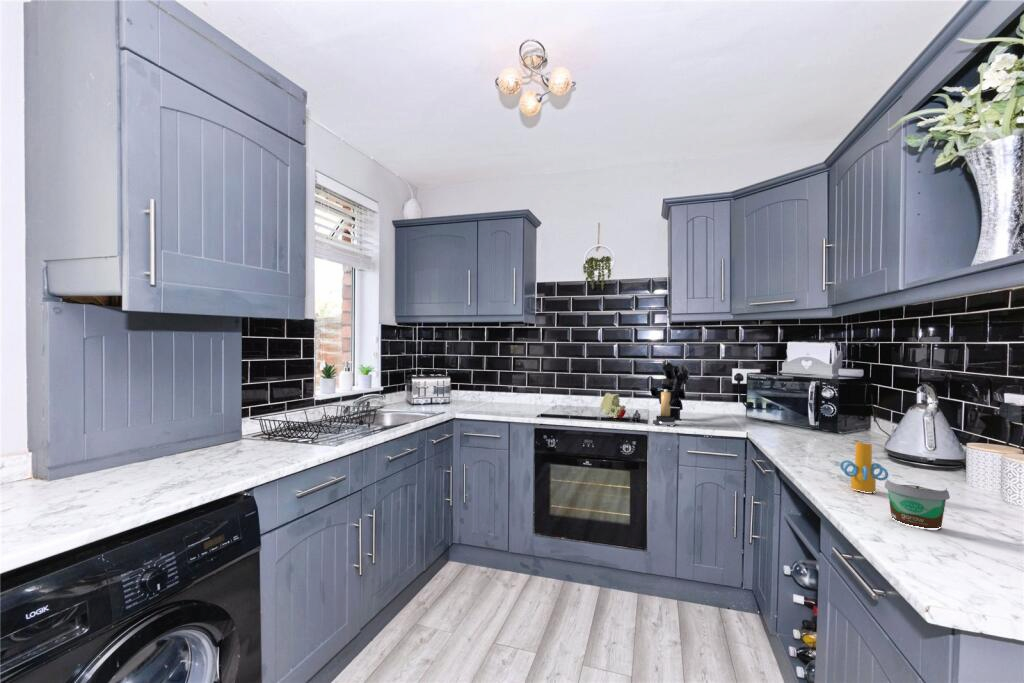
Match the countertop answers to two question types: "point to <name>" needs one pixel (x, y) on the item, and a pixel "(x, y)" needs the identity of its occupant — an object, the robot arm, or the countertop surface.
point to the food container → (916, 504)
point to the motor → (664, 420)
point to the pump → (665, 403)
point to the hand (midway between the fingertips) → (664, 404)
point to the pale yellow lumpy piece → (612, 405)
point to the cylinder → (863, 468)
